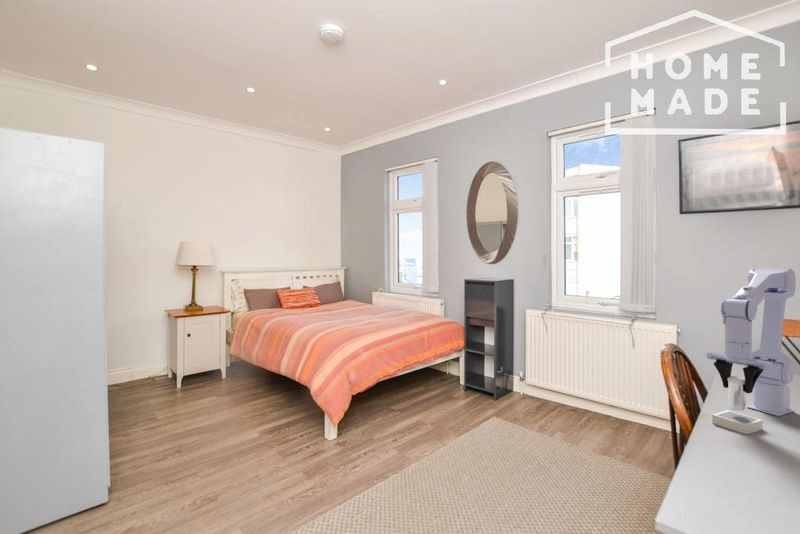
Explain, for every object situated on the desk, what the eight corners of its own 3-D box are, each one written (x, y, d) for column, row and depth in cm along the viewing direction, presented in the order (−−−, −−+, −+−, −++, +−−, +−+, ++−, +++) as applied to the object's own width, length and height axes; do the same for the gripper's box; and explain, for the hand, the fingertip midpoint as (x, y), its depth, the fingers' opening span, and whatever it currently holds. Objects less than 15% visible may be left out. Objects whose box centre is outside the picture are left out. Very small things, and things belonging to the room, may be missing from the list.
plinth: (728, 418, 113) (728, 409, 113) (762, 429, 106) (762, 419, 106) (712, 423, 110) (712, 414, 110) (746, 434, 103) (746, 424, 103)
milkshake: (754, 413, 106) (756, 377, 106) (732, 411, 107) (734, 375, 107) (743, 406, 111) (744, 372, 110) (722, 405, 111) (723, 371, 111)
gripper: (700, 338, 114) (700, 384, 114) (763, 347, 100) (762, 400, 100) (714, 336, 116) (714, 381, 117) (777, 345, 103) (776, 396, 103)
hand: (737, 389), depth 109 cm, fingers closed on milkshake, 4 cm apart
